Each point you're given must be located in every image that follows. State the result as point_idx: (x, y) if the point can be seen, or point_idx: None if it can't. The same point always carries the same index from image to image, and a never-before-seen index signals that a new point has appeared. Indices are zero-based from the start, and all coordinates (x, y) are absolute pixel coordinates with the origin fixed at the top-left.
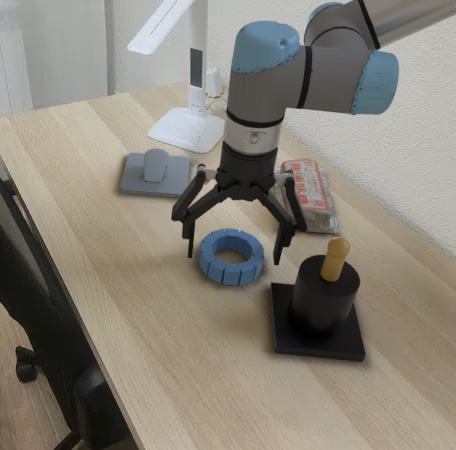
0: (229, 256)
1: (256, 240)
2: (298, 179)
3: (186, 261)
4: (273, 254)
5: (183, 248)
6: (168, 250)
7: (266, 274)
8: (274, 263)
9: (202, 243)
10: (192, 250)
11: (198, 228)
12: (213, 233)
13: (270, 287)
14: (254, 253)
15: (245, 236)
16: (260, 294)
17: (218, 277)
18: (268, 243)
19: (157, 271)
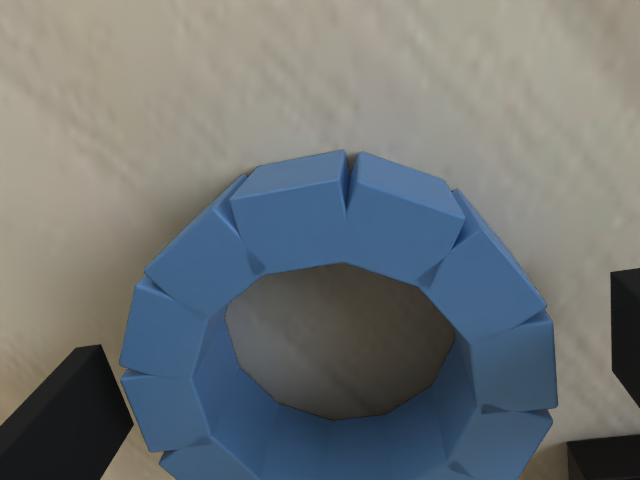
0: (325, 279)
1: (495, 265)
2: None
3: (121, 372)
4: (618, 306)
5: (66, 290)
6: (4, 325)
7: None
8: (620, 379)
9: (134, 393)
10: (102, 471)
11: (67, 87)
12: (166, 281)
13: (577, 474)
14: (488, 396)
15: (404, 248)
16: (520, 476)
17: None
18: (567, 80)
19: None
